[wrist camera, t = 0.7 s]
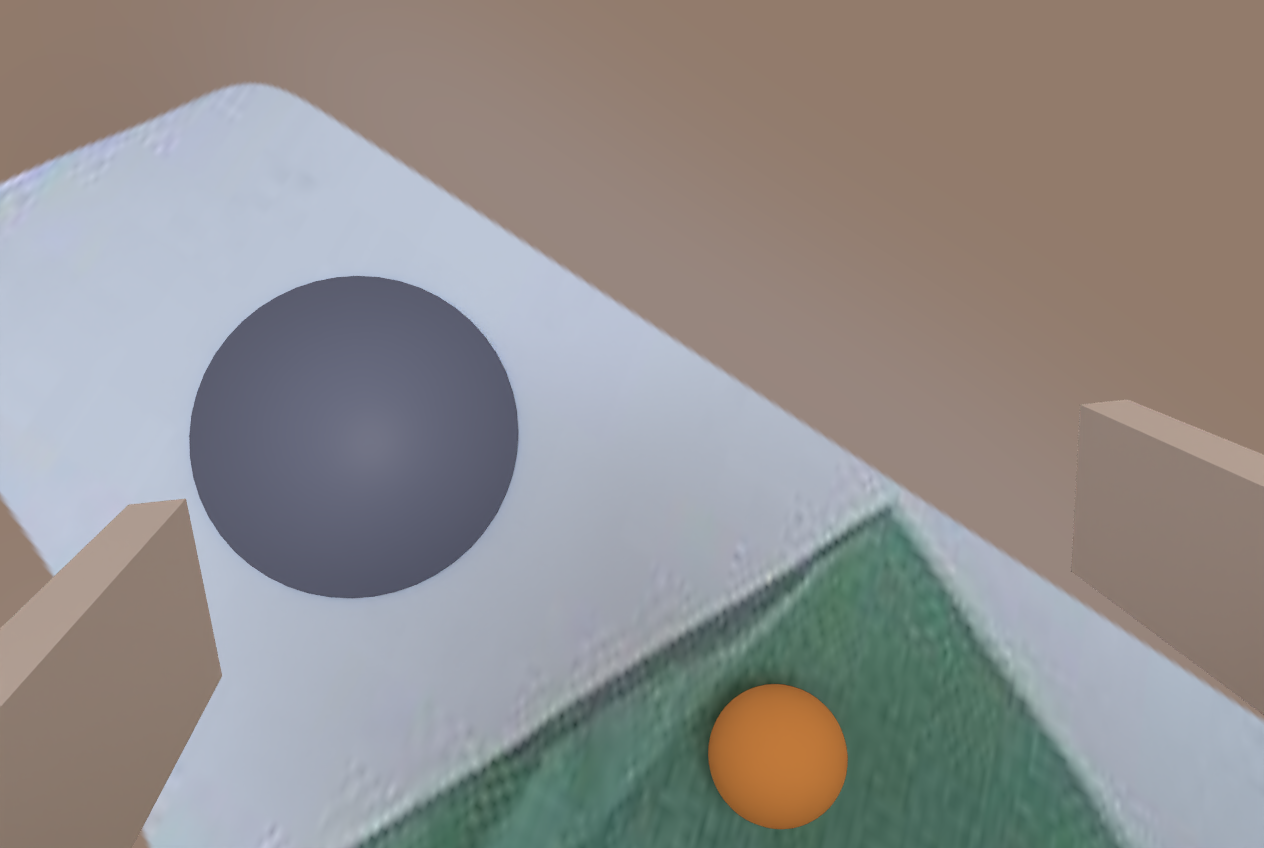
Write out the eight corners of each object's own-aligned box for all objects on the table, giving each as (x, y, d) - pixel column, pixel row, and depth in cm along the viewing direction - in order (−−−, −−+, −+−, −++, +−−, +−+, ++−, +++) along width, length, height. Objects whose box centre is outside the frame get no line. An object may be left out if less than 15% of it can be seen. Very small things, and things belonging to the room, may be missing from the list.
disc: (582, 403, 44) (582, 402, 44) (382, 664, 43) (381, 665, 42) (330, 215, 45) (329, 214, 45) (122, 466, 43) (120, 466, 43)
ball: (853, 727, 43) (892, 753, 38) (779, 835, 42) (808, 878, 37) (750, 650, 43) (774, 664, 38) (674, 756, 43) (688, 786, 37)
